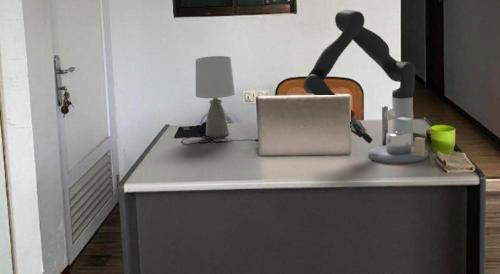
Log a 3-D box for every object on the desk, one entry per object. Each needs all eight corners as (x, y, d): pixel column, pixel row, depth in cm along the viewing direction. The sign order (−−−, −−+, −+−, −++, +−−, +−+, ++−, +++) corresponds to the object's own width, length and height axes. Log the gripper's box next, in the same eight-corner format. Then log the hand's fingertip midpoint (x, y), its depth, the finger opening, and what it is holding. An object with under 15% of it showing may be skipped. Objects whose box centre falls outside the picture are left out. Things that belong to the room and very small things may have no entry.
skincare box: (396, 145, 330) (396, 118, 328) (402, 143, 333) (402, 116, 330) (406, 147, 326) (406, 120, 323) (413, 145, 328) (413, 118, 325)
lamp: (191, 138, 362) (186, 60, 353) (208, 129, 378) (204, 55, 370) (227, 140, 354) (222, 61, 346) (242, 131, 371) (239, 55, 363)
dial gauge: (383, 145, 330) (382, 104, 326) (403, 148, 324) (403, 106, 319) (373, 149, 324) (372, 108, 320) (393, 152, 318) (393, 110, 313)
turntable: (387, 146, 328) (387, 126, 326) (438, 153, 312) (438, 132, 311) (356, 158, 311) (356, 137, 309) (409, 166, 295) (409, 144, 293)
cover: (393, 147, 318) (393, 128, 316) (415, 150, 312) (415, 130, 310) (381, 153, 310) (381, 132, 308) (403, 156, 304) (403, 135, 302)
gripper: (345, 108, 306) (375, 139, 305) (349, 102, 318) (379, 132, 318) (332, 121, 308) (362, 151, 308) (337, 115, 321) (366, 144, 320)
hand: (371, 141), depth 313 cm, fingers closed
